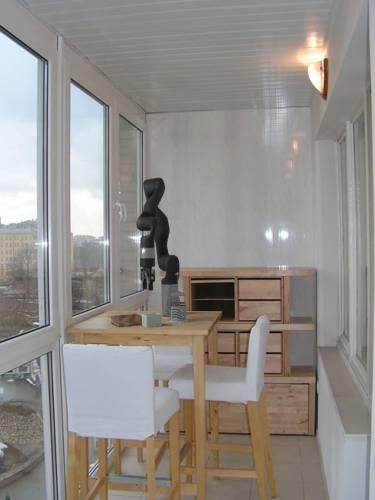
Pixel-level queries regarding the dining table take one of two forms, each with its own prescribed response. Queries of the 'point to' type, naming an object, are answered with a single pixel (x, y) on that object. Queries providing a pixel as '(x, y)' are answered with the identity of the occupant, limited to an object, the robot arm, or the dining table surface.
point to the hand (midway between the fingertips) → (147, 290)
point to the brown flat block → (126, 320)
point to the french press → (178, 317)
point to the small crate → (151, 320)
